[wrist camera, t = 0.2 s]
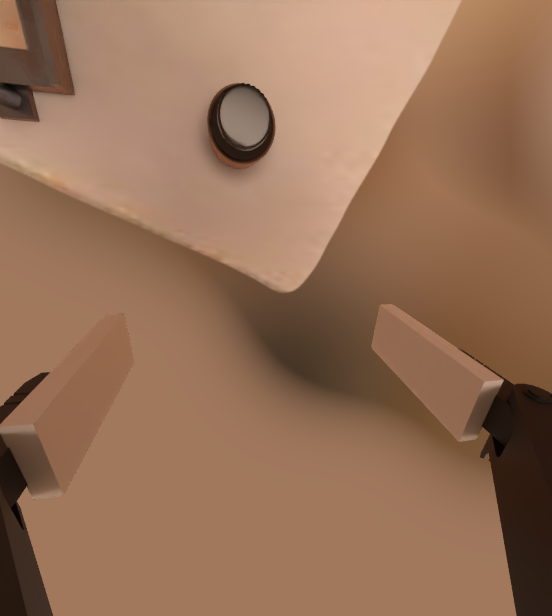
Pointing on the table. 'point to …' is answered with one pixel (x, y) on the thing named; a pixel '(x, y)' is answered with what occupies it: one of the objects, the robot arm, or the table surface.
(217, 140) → the supplement bottle
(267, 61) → the table surface
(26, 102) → the post
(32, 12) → the metal plate with cutouts
